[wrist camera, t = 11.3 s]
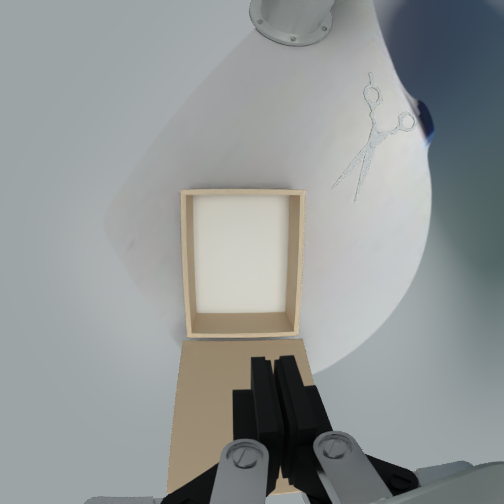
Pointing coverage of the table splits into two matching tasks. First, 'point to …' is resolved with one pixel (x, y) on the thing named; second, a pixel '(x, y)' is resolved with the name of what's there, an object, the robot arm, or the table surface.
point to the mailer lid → (217, 401)
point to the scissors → (373, 136)
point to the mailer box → (242, 261)
